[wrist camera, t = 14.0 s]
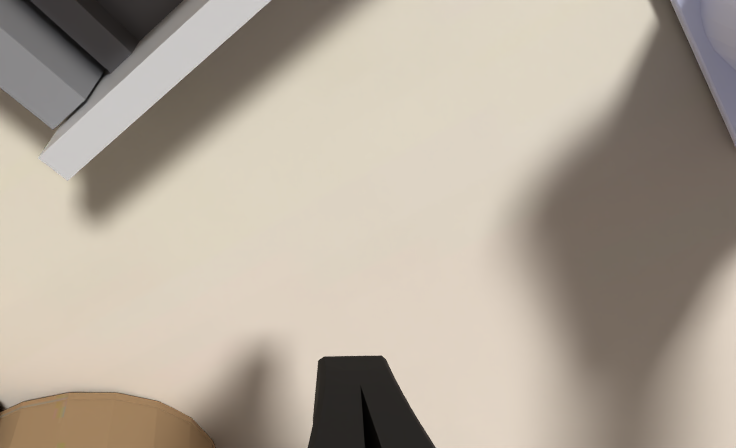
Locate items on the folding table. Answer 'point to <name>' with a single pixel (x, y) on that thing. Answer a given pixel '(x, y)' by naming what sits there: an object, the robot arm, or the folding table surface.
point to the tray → (133, 62)
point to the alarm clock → (98, 423)
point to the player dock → (43, 63)
